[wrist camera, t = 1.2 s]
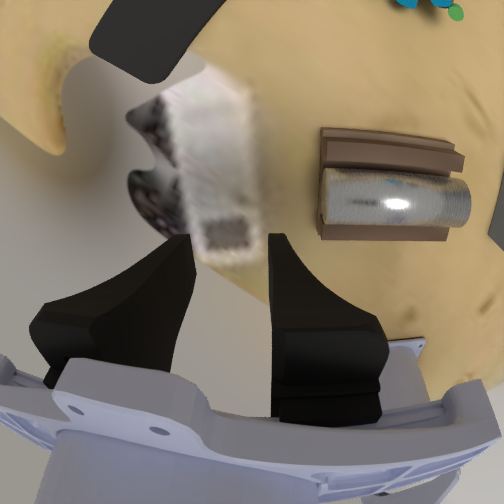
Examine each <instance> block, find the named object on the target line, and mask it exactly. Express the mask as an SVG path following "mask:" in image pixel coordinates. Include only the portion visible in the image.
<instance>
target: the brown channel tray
mask: <svg viewBox="0 0 504 504" xmlns="http://www.w3.org/2000/svg"><path fill="white" fill-rule="evenodd" d="M454 147H455V144H452V143H450V142H448V141H443V140H438V139H432V138H426V137H419V136H412V135H405V134H397V133H388V132H379V131H368V130H356V129H342V128H322V127H321V150H320V178H319V199H318V216H317V232H318V235H320V236H321V240H371V241H446V239H447V236H448V232H449V229H450V227H425V226H390V225H328V224H325V223H324V220H323V215H322V205H321V185H322V176H323V171H324V169H325V168H344V169H364V170H380V171H393V172H405V173H416V174H425V175H434V176H443V177H450V173H451V171H454V172H461V173H462V170H463V164H464V158H465V156H463V155H461V154H460V153H458V152H456V151H454Z"/></svg>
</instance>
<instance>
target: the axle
mask: <svg viewBox="0 0 504 504" xmlns="http://www.w3.org/2000/svg"><path fill="white" fill-rule="evenodd" d="M321 205H322V215H323V220H324V223H325V224H328V225H390V226H425V227H452V228H460V227H462V226H464V225H465V224H466V222H467V220H468V218H469V216H470V212H471V195H470V191H469V188H468V186H467V184H466V183H465V182H464V181H463V180H462V179H458V178H451V177H443V176H434V175H425V174H416V173H405V172H393V171H380V170H364V169H344V168H325V169H324V171H323V176H322V185H321Z"/></svg>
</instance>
